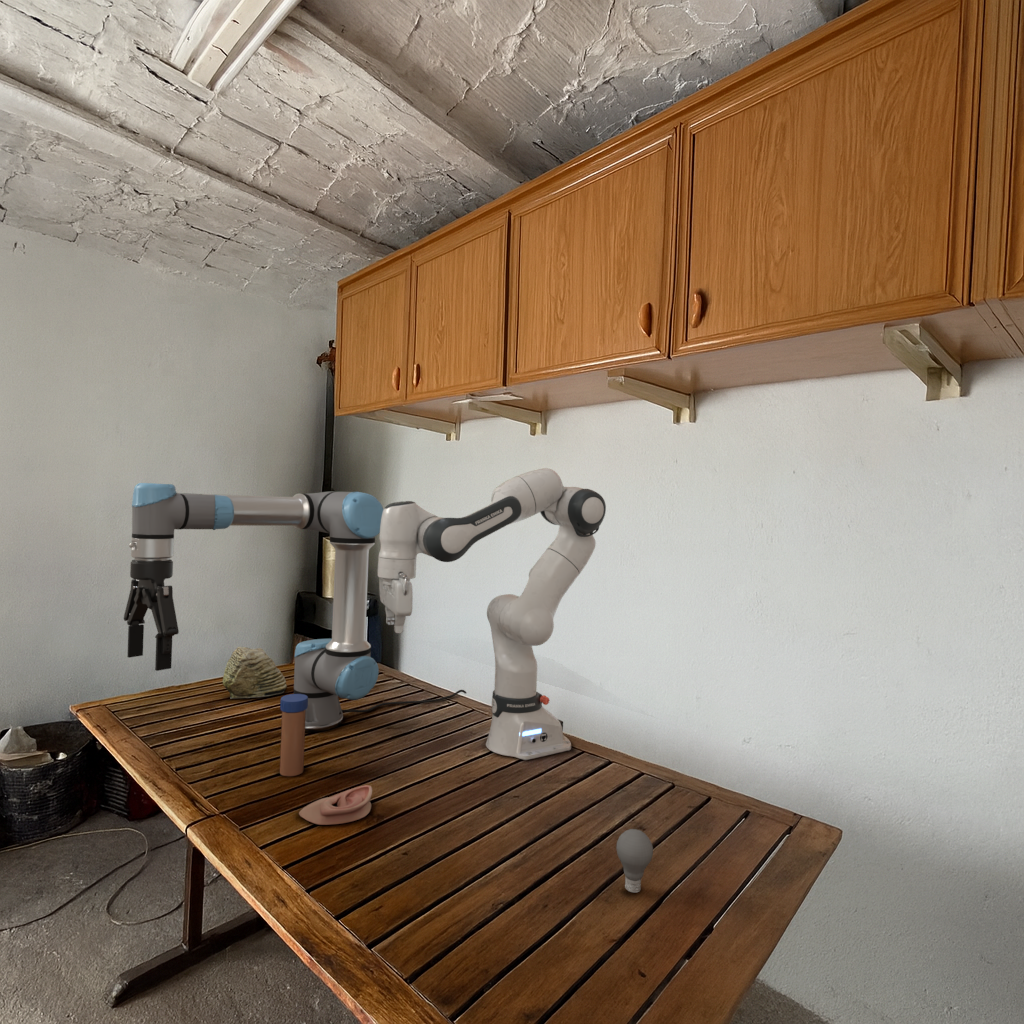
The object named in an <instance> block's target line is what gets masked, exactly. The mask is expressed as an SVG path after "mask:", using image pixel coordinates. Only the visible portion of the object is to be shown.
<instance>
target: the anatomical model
mask: <svg viewBox="0 0 1024 1024" xmlns="http://www.w3.org/2000/svg"><path fill="white" fill-rule="evenodd" d="M372 795H373V787H372V786H371V785H369V784H367V785H366V784H365V785H361V786H356V787H354V788H351V789H350V788H349V789H347V790H345V791H341V792H340V793H337V794H334V795H332V796H329V797H328V796H327V797H323V798H320V799H317V800H315V801H313V802H311V803H309V804H307V805H306V806H304V807H303V808H301V809H300V810H299V812H298V815H299V817H300V818H302V819H304V820H306V821H307V822H310V823H311V824H315V825H319V826H328V825H339V824H346V823H351V822H354V821H357V820H361V819H363V818H365V817H366V816H367V815H368V814H369V813H370V812H371V809H372V803H371V798H372V797H373V796H372Z"/></svg>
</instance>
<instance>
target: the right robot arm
mask: <svg viewBox="0 0 1024 1024" xmlns="http://www.w3.org/2000/svg"><path fill="white" fill-rule="evenodd" d="M606 511H607V504H606V501H605V499H604V498H603V496H602V495H601V494H600V493H598V492H596V491H595V490H593V489H591V488H582V487H577V486H564V485H563V481H562V479H561V477H560V475H559V474H558V473H557V472H556V471H555V470H553V469H552V468H547V467H544V468H538V469H533V470H530V471H527V472H523V473H521V474H518V475H516V476H514V477H511V478H509V479H507V480H505V481H503V482H502V483H500V484H499V485H497V486H496V487H495V488H494V489H493V491H492V494H491V499H490V503H489V504H487V505H485V506H484V507H481V508H480V509H477V510H475V511H473V512H471V513H469V514H467V515H465V516H462V517H443V516H442V517H441V516H437V515H436V514H433V513H431V512H429V511H427V510H426V509H424V508H422V507H421V506H419V505H418V504H417V502H415V501H412V500H405V501H396V502H391V503H389V504H387V505H385V506H384V508H383V513H382V517H381V524H380V533H379V537H378V538H379V543H380V550H379V552H378V559H377V560H378V561H377V565H376V566H377V567H376V572H377V577H378V583H379V584H378V585H379V589H378V590H379V599H380V602H381V604H383V606H385V608H384V611H385V617H386V619H385V623H386V625H388V626H393V625H394V626H393V631H394V633H396V634H403V632H404V626H405V621H406V617H410V616H411V615H412V613H413V595H414V594H413V584H412V582H411V579H412V580H413V579H415V578H416V575H417V560H418V559H417V558H418V554H424V555H426V556H428V557H432V558H433V559H434V560H437V561H439V562H443V563H452V562H455V561H457V560H459V559H461V558H462V557H463V556H465V554H466V553H467V552H468V551H469V549H471V547H472V546H473V545H475V543H477V542H479V541H480V540H482V539H484V538H486V537H488V536H490V535H491V534H493V533H496V532H497V531H499V530H501V529H502V528H505V527H506V526H509V525H512V524H515V523H518V522H521V521H524V520H527V519H529V518H531V517H533V516H535V515H537V514H539V513H540V515H541V517H542V518H543V519H544V520H545V521H546V522H548V523H550V524H551V525H554V526H558V532H557V534H556V536H555V538H554V540H553V541H552V542H551V544H549V546H548V547H547V548H546V550H545V551H543V553H542V554H541V556H540V557H539V558H538V559H537V561H536V562H535V563H534V564H533V566H532V567H531V568H530V570H529V571H528V580H527V582H526V585H525V588H524V590H523V591H522V592H521V594H520V595H516V594H512V593H508V594H506V593H505V594H500V595H497V596H495V597H493V598H492V599H491V600H490V602H488V603H489V604H488V606H487V608H486V617H487V620H488V624H489V627H490V632H491V638H492V647H493V653H494V689H493V691H492V698H491V714H492V715H491V722H490V726H489V727H490V728H489V731H488V735H487V739H486V741H485V747H486V748H487V749H488V750H489V751H491V752H492V753H494V754H498V755H502V756H506V757H512V758H513V757H514V758H517V759H520V760H523V761H528V760H529V761H530V760H533V759H539V758H542V757H546V756H550V755H555V754H559V753H565V752H568V751H571V750H572V742H571V741H570V739H569V738H568V737H567V736H565V735H564V721H563V720H561V719H559V718H557V717H556V716H555V715H554V714H552V713H551V712H550V711H549V710H548V709H546V708H545V707H544V706H547V705H549V703H550V702H551V701H550V698H549V697H548V696H546V695H544V694H542V693H540V692H538V691H537V690H538V689H537V687H538V661H537V658H536V656H535V653H534V649H533V647H537V646H541V645H544V644H545V643H546V642H548V640H550V638H551V636H552V634H553V632H554V628H555V623H554V622H555V621H554V619H555V615H556V612H557V610H558V608H559V606H560V603H561V601H562V600H563V598H564V596H565V595H566V593H567V591H568V590H569V589H570V588H571V586H572V585H573V583H574V582H575V581H576V579H577V578H579V576H580V574H581V573H582V572H583V570H584V569H585V567H586V566H587V564H588V562H589V561H590V559H591V557H592V556H593V553H594V552H595V549H596V546H597V545H596V544H597V543H596V539H595V536H594V535H595V534H596V533H597V532H598V531H599V529H600V526H601V525H602V523H603V521H604V519H605V516H606Z"/></svg>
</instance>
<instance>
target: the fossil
mask: <svg viewBox="0 0 1024 1024" xmlns="http://www.w3.org/2000/svg"><path fill="white" fill-rule="evenodd" d="M222 676H223V677H222V685H223V687H224V688H225V690H226V691H228V693H229V698H230V699H250V698H264V697H271V696H275V695H281V694H284V693H285V691H286V689H287V687H288V686H287V680H286V678H285V676H284V674H283V673H282V672H281V669H279V668H278V667H277V665H276V663H275V662H274V660H273V659H272V658H271V657H270V656H269V655H268V654H267V653H266V652H265V650H264V649H263V648H260V647H258V648H251V647H247V646H246V647H245V646H238V647H237V648H236V649H235V650H233V651H232V653H231V656H230V657H229V659H228V660H227V663H226V666H225V668H224V671H223V675H222Z"/></svg>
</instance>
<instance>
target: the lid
mask: <svg viewBox="0 0 1024 1024" xmlns="http://www.w3.org/2000/svg"><path fill="white" fill-rule="evenodd" d="M307 707H308V696H306V695H303V694H294V693H292V694H291V693H289V694H286V695H283V696H281V697H280V701H279V709H280V712H282V711H283V712H289V713H294V712H301V711H304V710H306V709H307Z"/></svg>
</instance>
